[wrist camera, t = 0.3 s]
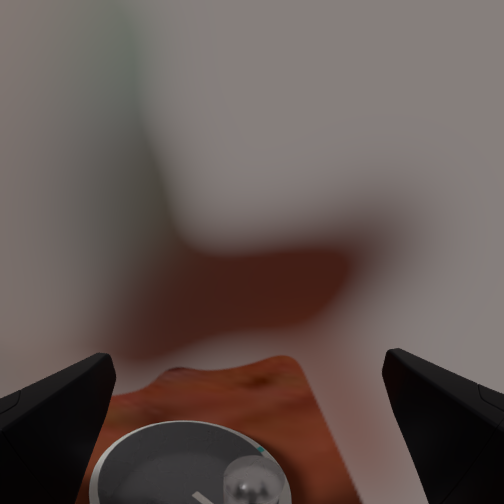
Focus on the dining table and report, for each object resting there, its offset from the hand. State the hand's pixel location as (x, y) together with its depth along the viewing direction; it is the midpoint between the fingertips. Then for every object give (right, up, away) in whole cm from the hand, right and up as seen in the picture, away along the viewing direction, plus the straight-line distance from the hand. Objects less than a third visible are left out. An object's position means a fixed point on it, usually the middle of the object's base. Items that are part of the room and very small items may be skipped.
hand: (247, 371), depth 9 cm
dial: (-4, -12, +6) cm, 15 cm away
